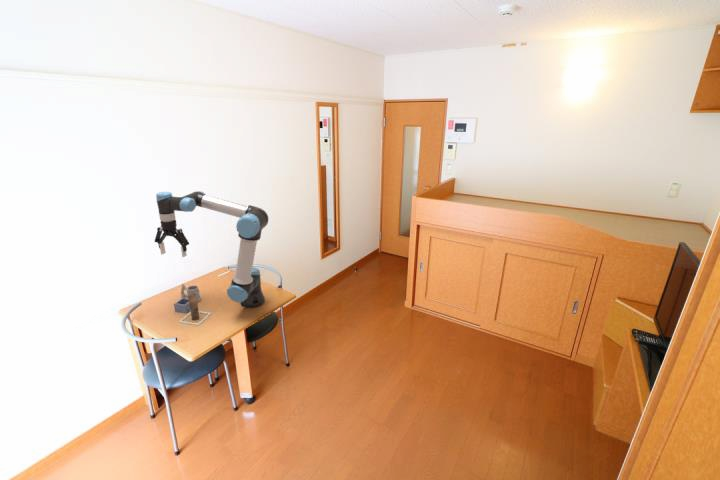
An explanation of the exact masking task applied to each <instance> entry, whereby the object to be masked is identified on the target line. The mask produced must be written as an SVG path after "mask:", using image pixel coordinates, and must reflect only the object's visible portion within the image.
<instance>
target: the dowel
mask: <svg viewBox="0 0 720 480" xmlns="http://www.w3.org/2000/svg"><path fill="white" fill-rule="evenodd" d="M188 298H189V305H190V311H189V312H191V315H190V316H191V320H192V321H198V320H199V319H200V313H199V311H200V310H199V305H198V302H197V298H196V293H190V294H188Z"/></svg>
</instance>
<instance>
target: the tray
mask: <svg viewBox="0 0 720 480" xmlns="http://www.w3.org/2000/svg"><path fill="white" fill-rule="evenodd" d="M198 311H199V314H200V315H201V314H202V315H206V316H204V318H202V319H201V320H200V321H199V322H198V323H194V322H189V321H185V320H186V319H187V318H189V316H191V311H189V312H188V313H187V314H186V315H185V316H184V317H183V318H182V319H180V320H179V321H178V322H179V324H185V325H189V326H197V327H199V326H200V325H201V324H203V322H205V321H206V319H208V318H209V317H211V315H212V312H208V311H200V310H198Z"/></svg>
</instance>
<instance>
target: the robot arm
mask: <svg viewBox="0 0 720 480" xmlns="http://www.w3.org/2000/svg"><path fill="white" fill-rule="evenodd" d="M155 197H156V205H157V208H158V216H159V221H160V226H159V227H157V228H156V229H157V230H156V231H157V232H156V235H155V238H154V243H157V244H158V248H159V250H160V255H164V254H166V246H165V242H164V240H165V239H166V237H172V238H174V239H175V240H176V241H177V242H178V243H179V245H180V250H181V251H180V252H181V257H182V258H184V257H186V256H187V255H188V254H187V250H188V248H187V246H188V245H190V242H189V240H188V239H187V238H186V236H185V233H184V232H183V228H177V220H176V212H186V213H188V212H189V213H190V212H193V211H194V210H196V208H197V207H200V208H203V209H206V210H207V209H208V210H211V211H215V212H218V213H222V214H225V215H229V216H232V217H236V218H239V219H238V220H237V222H236V226H235V227H236V231H237V232H238V238H239V240H240V242H239V246H238V247H239V249H238V255H237V261H236V268H235V274H234V275H232V277H231V283H230V286H228V288H227V290H226V293H227V296H228V298H229V299H230V300H231V301H233V302H236V303H239V304H240V306H241V307H244V308H247V309H253V308H257V307H261V306H262V305H263V304H264V303H265V300H266V299H265V295H264V293H263V290H262V281H261V279H262V278H261V270H260V269H259V268H258V267H253V266H254V261H255V255H256V249H257V243H258V241H260V239H261V236H262V231H263V229H264V228H266V226H267V225H268V223H269V216H268V214H267V212H266V210H264V209H263V208H261V207H258V206H255V205H249V204H248V205H244V204H240V203H236V202H233V201H229V200H225V199H222V198H221V199H220V198H218V197H214V196H211V195H207V194H206V193H205V192H204V191H201V190H198V191H193V192H191V193H189V194H186V195H183V196H173V194H172V192H170V191H161V192H160V191H159V192H157V193H156V195H155Z"/></svg>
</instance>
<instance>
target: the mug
mask: <svg viewBox="0 0 720 480" xmlns="http://www.w3.org/2000/svg"><path fill="white" fill-rule="evenodd" d="M185 291H186V294H185ZM190 293H196V298H197V303H199V302H200V301H201V300H202V297H201V294H200V289H199V286H198V285H195V284H194V285H193V284H192V285H189V286H187V287H186V285H185V284H184V283H182V284H181V289H180V296H181V298H188V294H190ZM188 299H189V298H188Z"/></svg>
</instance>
